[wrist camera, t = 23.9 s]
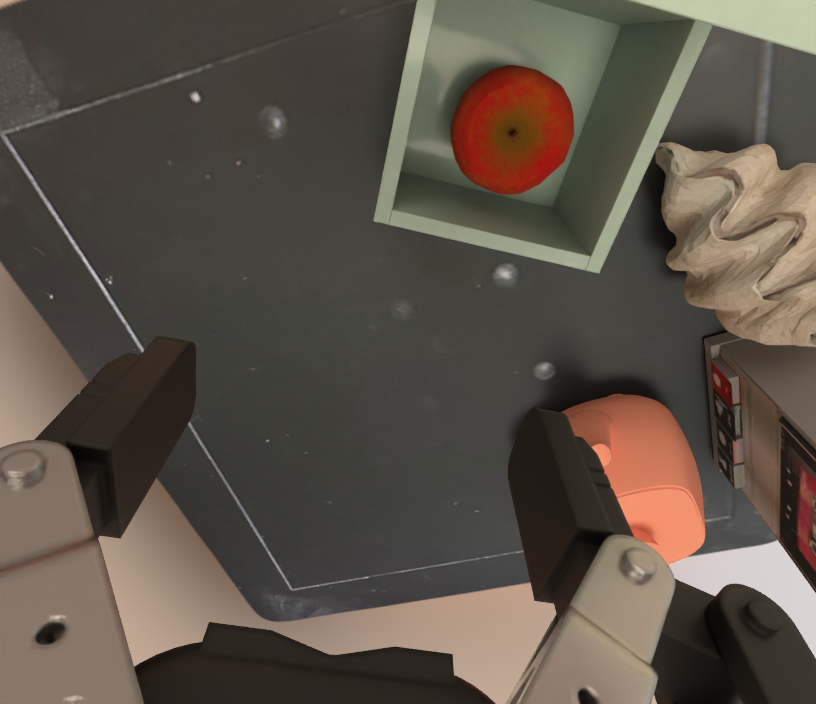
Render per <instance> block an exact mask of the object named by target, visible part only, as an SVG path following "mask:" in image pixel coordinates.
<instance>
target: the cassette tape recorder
mask: <svg viewBox="0 0 816 704" xmlns="http://www.w3.org/2000/svg"><path fill="white" fill-rule="evenodd" d="M704 344H705V356H706V369H707V381H708V393H709V405H710V417H711V429H712V441H713V454H714V464H715V465H716V467H717V468H718V469H719V471H720V472H723V473H724V474H725V476H726V477H727V479H728V480H729V481H730V483H731V484H732V486H733V487H734V489H737V488H741V489H742V490H743V492H744V493H745V494H746V496H747V497H748V499H749V500H750V501H751V503H752V504H753V506H754V507H755V508H756V510H757V511H758V513H759V514H760V515H761V517H762V518H763V520H764V521H765V522H766V524H767V525H768V526H769V528H770V529H771V531H772V532H773V533H774V535H775V536H776V538H777V539H778V540H779V542H780V544H781V545H782V546H783V548H784V549H785V550H786V552H787V553H788V555H789V556H790V558H791V559H792V560H793V562H794V563H795V565H796V566H797V567H798V568H799V570H800V571H801V573H802V574H803V576H804V577H805V579H806V580H807V581H808V583H809V584H810V585H811V587H812V588H813V590H814V591H815V592H816V347H809V346H797V345H765V344H762V343H759V342H756V341H753V340H749V339H745V338H741V337H739V336H736V335H734V334H732V333H730V332H726V333H723V334H719V335H716V336H712V337H708V338H705V339H704Z"/></svg>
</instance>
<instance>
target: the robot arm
mask: <svg viewBox="0 0 816 704" xmlns="http://www.w3.org/2000/svg"><path fill="white" fill-rule="evenodd" d="M195 398H196V347H195V344H194V343H193V342H189V341H184V340H179V339H173V338H168V337H163V336H157V337H156V338H155V339H154V340H153V341H152V342H151V343H150V345H149V346H148V347H147V348H146V349H145V350H144V351H143V353H142V354H141V355H138V354H132V353H127V354H125V355H123V356H121V357H119V358H117V359H115V360H113V361H111V362H109V363H107V364H106V365H105V366H104V367H103V368H102V369H101V370H100V371H99V372H98V373H97V375H96V376H95V377H94V378H93V380H92V382H89V383H88V384H87V385H86V386H85V387H84V388H83V389H82V390H81V393H80V395H79V394H78V395H77V396H76V397H75V398H74V399H73V400H72V401H71V402H70V403H69V404H68V405H67V406H66V407H65V408H64V409H63V410H62V411H61V413H60V414H59V415H58V416H57V417H56V418H55V419H54V420H53V421H52V422H51V423H50V424H49V425H48V426H47V427H46V428H45V429H44V430H43V431H42V432H41V434H40V435H39V436H38V437H37V438H36V439H35V440H29V441H22V442H17V443H14V444H10V445H7V446H5V447H2V448H0V704H495V703H494V702H493V701H492V700H491V699H490V698H489V697H488V696H487V695H486V694H484V693H483V692H482V691H480V690H479V689H478V688H476V687H475V686H473V685H472V684H470V683H468V682H466V681H465V680H463V679H461V678H459V677H457V676H455V675H454V671H453V655H452V654H447V653H439V652H432V651H424V650H417V649H409V648H401V647H389V648H382V649H376V650H368V651H362V652H355V653H348V654H341V655H329V654H326V653H324V652H321V651H319V650H317V649H314V648H312V647H309V646H307V645H305V644H302V643H300V642H297V641H295V640H293V639H290V638H288V637H286V636H283V635H281V634H279V633H276V632H274V631H271V630H265V629H257V628H249V627H242V626H235V625H227V624H219V623H212V622H209V624H208V627H207V630H206V633H205V635H204V638H203V641H202V642H199V643H193V644H188V645H184V646H180V647H177V648H173V649H171V650H168V651H165V652H163V653H160V654H157V655H155V656H153V657H152V658H149V659H147V660H145V661H143V662H141V663H139V664H138V665H137V666H135V667H134V665H133V662H132V658H131V654H130V651H129V647H128V644H127V640H126V637H125V633H124V629H123V625H122V622H121V618H120V615H119V611H118V607H117V604H116V600H115V596H114V593H113V589H112V586H111V582H110V578H109V575H108V571H107V568H106V564H105V560H104V557H103V553H102V550H101V546H100V543H99V540H98V537H99V536H100V535H101V536H107V537H114V538H121V536H122V535H123V533H124V532H125V530H126V528H127V526H128V525H129V523H130V521H131V519H132V518H133V516H134V514H135V513H136V511H137V509H138V508H139V506H140V504H141V503H142V501H143V499H144V498H145V496H146V494H147V492H148V491H149V489H150V487H151V486H152V484H153V482H154V481H155V479H156V477H157V475H158V474H159V472H160V470H161V469H162V467H163V465H164V464H165V462H166V460H167V458H168V457H169V455H170V453H171V452H172V450H173V448H174V447H175V445H176V443H177V441H178V440H179V438H180V436H181V435H182V433H183V431H184V430H185V428H186V426H187V425H188V423H189V421H190V418H191V416H192V413H193V409H194V405H195ZM604 472H605V470H604V468H603V466H602V463H601V461H600V459H599V457H598V454H597V453H596V452H595V451H594V450H593V448H592V447H591V446H590V445H589V444H588V443H587V442H586V441H585V440H584V438H583V437H578V436H575V434H574V432H573V430H572V427H571V425H570V422H569V420H568V417H567V416H566V414H564V413H561V412H556V411H550V410H545V409H540V408H533V409H531V411H530V412H529V414H528V416H527V418H526V420H525V423H524V425H523V427H522V430H521V432H520V434H519V436H518V439H517V441H516V443H515V445H514V448H513V450H512V452H511V455H510V458H509V463H508V480H509V485H510V489H511V494H512V499H513V503H514V508H515V512H516V517H517V522H518V526H519V531H520V535H521V540H522V545H523V549H524V554H525V559H526V563H527V568H528V572H529V577H530V582H531V586H532V591H533V595H534V600H535V601H540V602H548V603H554V605H555V609H556V613H557V614H556V616H555V618H554V619H553V621H552V622H551V624H550V626H549V628H548V629H547V631H546V633H545V635H544V636H543V638H542V640H541V642H540V644H539V645H538V647H537V649H536V651H535V653H534V654H533V656H532V658H531V660H530V662H529V663H528V665H527V667H526V669H525V671H524V672H523V674H522V676H521V678H520V679H519V681H518V683H517V685H516V687H515V688H514V690H513V692H512V693H511V695H510V697H509V699H508V700H507V702H506V704H651V702H652V699H653V695H655V699H656V702H657V704H816V659H815V657H814V655H813V654H812V652H811V650H810V649H809V647H808V645H807V644H806V642H805V640H804V639H803V637H802V635H801V634H800V632H799V630H798V629H797V627H796V625H795V624H794V623H793V621H792V620H791V618H790V617H789V616H788V615H787V614H786V613H785V612H784V610H783V609H782V608H781V607H779V606H778V605H777V604H776V603H775V602H774V601H772V600H771V599H770V598H768V597H767V596H766V595H764V594H762V593H761V592H759V591H757V590H755V589H753V588H751V587H748V586H745V585H741V584H729V585H726V586H725V587H724V588H723V589H722V590H721V591H720V592H719V593H718V594H717V595H716V596H713V595H710V594H708V593H706V592H704V591H701V590H699V589H696V588H694V587H692V586H690V585H687V584H685V583H683V582H680V581H678V580H677V579H675V578H674V575H673V573H672V571H671V569H670V567H669V565H668V564H667V563H666V561H665V560H664V559H663V558H662V556H661V555H660V554H659V553H658V552H656V551H655V550H654V549H653V548H652V547H650V546H649V545H647V544H646V543H644V542H642V541H641V540H638V539H636V538H634V535H633V533H632V531H631V529H630V526H629V524H628V522H627V520H626V517H625V515H624V513H623V511H622V508H621V506H620V504H619V502H618V499H617V497H616V495H615V493H614V490H613V488H611V484H610V481H609V479H608V477H607V475H606V474H604Z"/></svg>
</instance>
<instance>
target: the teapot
mask: <svg viewBox="0 0 816 704" xmlns="http://www.w3.org/2000/svg"><path fill="white" fill-rule="evenodd" d="M561 413H564V414H566V416H567V417H568V420H569V422H570V425H571V427H572V430H573V432H574V434H575V436H578V437H583V438H584V440H585V441H586V442H587V443H588V444H589V445H590V446H591V447H592V448H593V450H594V451H595V452H596V453H597V454H598V457H599V459H600V461H601V463H602V466H603V468H604V470H605V472H604V474H606V475H607V477H608V479H609V481H610V484H611V488H613V490H614V493H615V495H616V497H617V499H618V502H619V504H620V506H621V508H622V511H623V513H624V515H625V517H626V520H627V522H628V524H629V526H630V529H631V531H632V533H633V535H634V538H636V539H638V540H641V541H642V542H644V543H646V544H647V545H649V546H650V547H652V548H653V549H654V550H655V551H656V552H658V553H659V554H660V555H661V556H662V558H663V559H664V560H665V561H666V563H667V564H671V563H673V562H676V561H678V560H681V559H683V558H685V557H687V556H689V555H691V554H692V553H694V552H695V551H697V550H698V549H699V548H700V547H701V546H702V544H703V543H704V539H705V519H704V506H703V496H702V488H701V481H700V477H699V473H698V469H697V465H696V462H695V459H694V457H693V454H692V451H691V449H690V446H689V444H688V442H687V440H686V437H685V435H684V433H683V432H682V430H681V428H680V426H679V424H678V423H677V421H676V419H675V418H674V416H673V415H672V413H671V412H670V410H668V409H667V408H666V407H665V406H664V405H663V404H661V403H660V402H658V401H656V400H653V399H650V398H647V397H643V396H639V395H622V394H613V395H610V396H608V397H605V398H600V399H596V400H592V401H588V402H584V403H581V404H578V405H575V406H573V407H571V408H568V409H566V410H564V411H562V412H561Z"/></svg>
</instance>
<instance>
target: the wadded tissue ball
mask: <svg viewBox="0 0 816 704" xmlns="http://www.w3.org/2000/svg"><path fill="white" fill-rule="evenodd" d="M655 153H656V163H657V164H658V165H659V166H660V167H661V168H662V169H663V170H664V172H665V174H666V179H665V187H664V191H663V194H662V208H661V212H662V215H663V218H664V221H665V223H666V225H667V228H668V229H669V230H670V231H671V232H673V233H674V234H675V235H676V239H677V241H676V246H675V247H674V248H673V249H671V250H670V251H669V252H668V255H667V257H666V264H667V265H668V266H669V267H670V268H671V269H672V270H677V271H686V272H687V274H688V275H687V278H686V280H685V283H684V289H683V293H684V297H685V298H686V300H687V302H688V303H689V304H691V305H693V306H697V307H702V308H707V309H715V311H716V316H717V318H718V319H719V321H720V323H721V324H722V325H723V327H724V328H725V329H726V330H727V331H728V332H730V333H732V334H734V335H736V336H739V337H741V338H745V339H749V340H753V341H756V342H759V343H762V344H765V345H797V346H809V347H816V163H801V164H798V165H796V166H795V167H793V168H792V169H790V170H782V171H781V170H780V169H779V167H778V165H777V158H776V154H775V151H774V150H773V149H772V148H771V146H769V145H767V144H758V145H752V146H750V147H748V148H745V149H742V150H740V151H737V152H735V153H728V154H726V153H723V152H720V151H716V150H712V151H708V152H703V151H692V150H691V149H689V148H686V147H684V146H681V145H679V144H676V143H672V142H667V143H659V144H658V146H657V148H656V150H655Z"/></svg>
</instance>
